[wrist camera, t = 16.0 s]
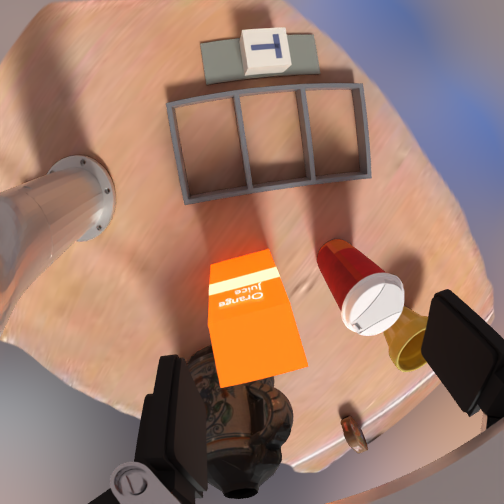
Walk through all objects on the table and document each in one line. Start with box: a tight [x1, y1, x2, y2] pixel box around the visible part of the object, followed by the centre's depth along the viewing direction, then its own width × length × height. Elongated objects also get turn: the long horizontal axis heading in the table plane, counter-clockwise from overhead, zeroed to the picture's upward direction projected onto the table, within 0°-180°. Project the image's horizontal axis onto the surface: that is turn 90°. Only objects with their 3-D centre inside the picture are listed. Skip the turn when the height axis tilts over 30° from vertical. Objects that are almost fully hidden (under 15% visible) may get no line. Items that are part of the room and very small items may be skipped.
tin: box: [341, 416, 368, 453], centre depth 61 cm, size 15×3×8 cm, turn 32°
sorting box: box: [166, 83, 372, 205], centre depth 36 cm, size 25×13×2 cm, turn 98°
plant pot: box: [383, 306, 428, 372], centre depth 47 cm, size 10×10×10 cm
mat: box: [200, 35, 320, 85], centre depth 32 cm, size 15×6×1 cm, turn 98°
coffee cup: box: [317, 239, 404, 336], centre depth 38 cm, size 8×8×15 cm
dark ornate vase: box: [187, 346, 293, 499], centre depth 40 cm, size 16×19×25 cm
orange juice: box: [208, 249, 308, 388], centre depth 35 cm, size 8×9×20 cm
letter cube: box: [239, 28, 292, 76], centre depth 29 cm, size 5×5×5 cm
